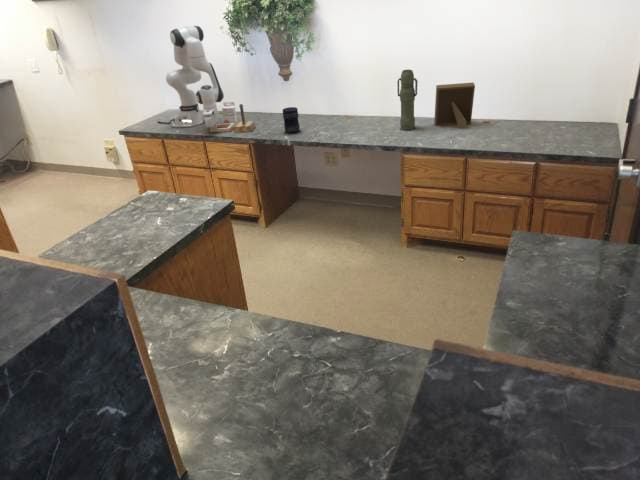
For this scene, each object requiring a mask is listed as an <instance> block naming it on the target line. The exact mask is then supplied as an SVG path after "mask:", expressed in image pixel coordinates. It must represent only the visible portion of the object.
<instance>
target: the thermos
mask: <svg viewBox="0 0 640 480" xmlns="http://www.w3.org/2000/svg"><path fill="white" fill-rule="evenodd" d="M418 82H419V81H418V79H417V78H416V77H415V75H414V71H413V70H412V69H403V70H402V71H401V75H400V77H399V78H398V79H397V96H398V97H399V101H400V119H399V122H400V123H399V124H400V125H399V126H400V130H402V131H413V130H415V124H416V118H415V100H416V96H417V95H418ZM414 84H415V85H414Z"/></svg>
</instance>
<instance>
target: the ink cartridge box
mask: <svg viewBox="0 0 640 480" xmlns="http://www.w3.org/2000/svg"><path fill="white" fill-rule="evenodd" d="M222 104H223V107H222V108H221V111H222V117H223V122H224V123H223V124H227V123H234V124H235V125H236V123H237V122H238V117H237V116H238V115H237V111H236V105H235V102H234V101H224V102H222Z"/></svg>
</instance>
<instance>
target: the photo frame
mask: <svg viewBox="0 0 640 480" xmlns="http://www.w3.org/2000/svg"><path fill="white" fill-rule="evenodd" d="M475 88H476V84H475V82H462V83H461V82H460V83H448V84H447V83H445V84H437V85H436V86H435V103H434V104H435V105H434V119H433V120H434V121H433V123H434V126H435V127H437V126H438V127H439V126H453V125H454V126H455V125H457V127H458V129H467V125H469V124H472V117H473V109H474V107H473V106H474V99H475V90H476V89H475Z"/></svg>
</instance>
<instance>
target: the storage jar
mask: <svg viewBox="0 0 640 480" xmlns="http://www.w3.org/2000/svg"><path fill="white" fill-rule="evenodd" d="M282 118H283V122H284V123H283V126H284V131H285V132H284V133H285V134H286V135H295V134H299V133H300V132H301V130H300V129H301V128H300V123H299V122H300V121H299V110H298V107H295V106H289V107H285V108H283V109H282Z"/></svg>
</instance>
